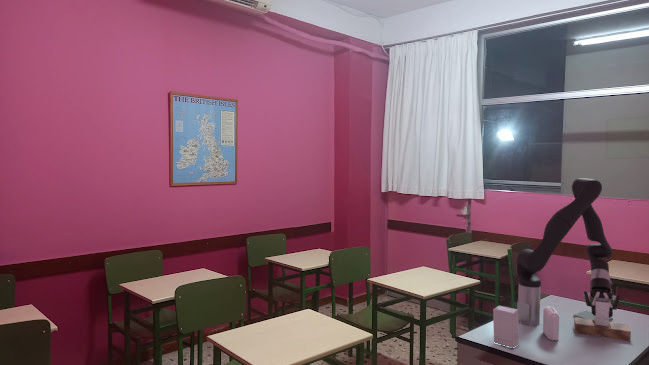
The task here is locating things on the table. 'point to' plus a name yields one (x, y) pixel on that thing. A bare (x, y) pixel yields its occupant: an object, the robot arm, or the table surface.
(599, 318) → the lever cap
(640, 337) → the table surface
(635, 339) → the table surface
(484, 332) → the table surface
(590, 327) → the body
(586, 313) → the rubber mat
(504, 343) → the skincare box
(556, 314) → the photo printer
